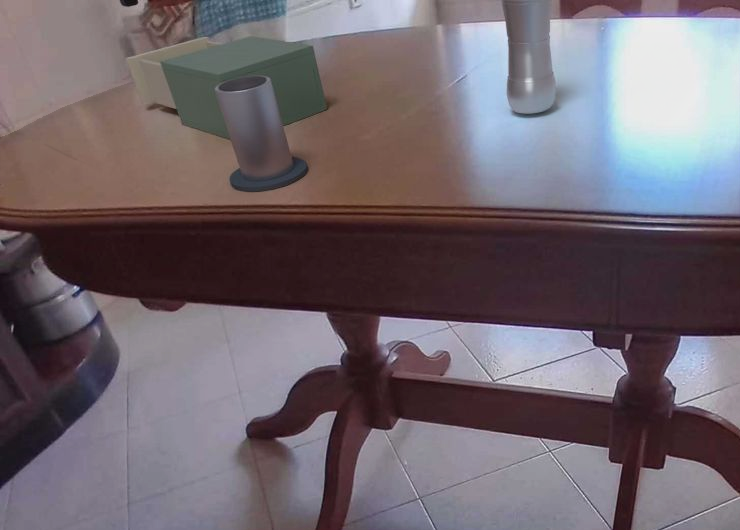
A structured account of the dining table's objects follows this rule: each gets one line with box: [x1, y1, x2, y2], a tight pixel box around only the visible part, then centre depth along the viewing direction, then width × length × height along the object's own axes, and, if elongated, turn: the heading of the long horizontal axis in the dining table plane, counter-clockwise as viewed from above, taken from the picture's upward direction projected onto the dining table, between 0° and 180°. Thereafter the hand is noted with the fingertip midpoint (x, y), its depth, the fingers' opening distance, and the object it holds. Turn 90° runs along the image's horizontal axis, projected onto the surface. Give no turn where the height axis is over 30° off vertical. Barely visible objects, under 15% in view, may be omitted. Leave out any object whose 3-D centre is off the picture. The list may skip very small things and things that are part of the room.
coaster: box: [228, 156, 309, 193], centre depth 82 cm, size 9×9×1 cm
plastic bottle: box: [500, 0, 557, 115], centre depth 86 cm, size 6×7×20 cm
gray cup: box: [215, 76, 294, 181], centre depth 79 cm, size 6×6×10 cm
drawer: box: [124, 36, 225, 110], centre depth 109 cm, size 19×14×7 cm
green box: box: [160, 35, 328, 141], centre depth 99 cm, size 16×15×9 cm
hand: (130, 5), depth 111 cm, fingers closed
